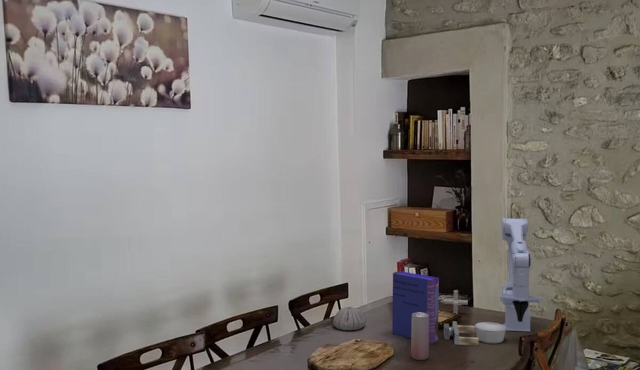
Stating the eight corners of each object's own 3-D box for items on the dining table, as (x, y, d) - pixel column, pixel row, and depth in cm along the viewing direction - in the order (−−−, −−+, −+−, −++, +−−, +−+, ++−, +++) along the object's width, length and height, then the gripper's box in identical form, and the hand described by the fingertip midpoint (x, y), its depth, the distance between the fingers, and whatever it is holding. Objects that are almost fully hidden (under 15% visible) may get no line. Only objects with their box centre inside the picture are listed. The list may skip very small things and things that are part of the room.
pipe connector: (467, 317, 260) (468, 294, 259) (443, 316, 262) (444, 292, 261) (467, 311, 269) (467, 288, 269) (443, 309, 271) (444, 287, 271)
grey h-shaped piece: (456, 331, 240) (456, 320, 240) (458, 344, 224) (459, 332, 224) (443, 330, 241) (443, 319, 241) (444, 343, 225) (445, 332, 225)
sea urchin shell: (373, 328, 245) (373, 308, 244) (346, 334, 237) (347, 314, 236) (351, 320, 255) (351, 301, 255) (325, 326, 247) (325, 306, 247)
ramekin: (506, 337, 234) (506, 323, 233) (505, 346, 223) (505, 331, 223) (476, 334, 237) (476, 320, 237) (473, 342, 227) (473, 328, 226)
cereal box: (437, 340, 229) (438, 277, 227) (430, 344, 225) (431, 279, 224) (399, 331, 241) (400, 270, 239) (392, 333, 237) (392, 272, 235)
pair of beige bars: (474, 332, 239) (474, 326, 239) (478, 345, 223) (478, 339, 223) (456, 331, 240) (456, 325, 240) (458, 344, 224) (458, 337, 224)
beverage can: (409, 354, 214) (409, 312, 213) (426, 354, 214) (426, 312, 213) (413, 360, 208) (413, 317, 207) (430, 360, 208) (431, 316, 207)
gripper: (501, 286, 224) (501, 323, 225) (543, 288, 222) (542, 325, 223) (499, 282, 231) (498, 317, 232) (539, 283, 229) (538, 319, 230)
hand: (519, 321), depth 228 cm, fingers closed
